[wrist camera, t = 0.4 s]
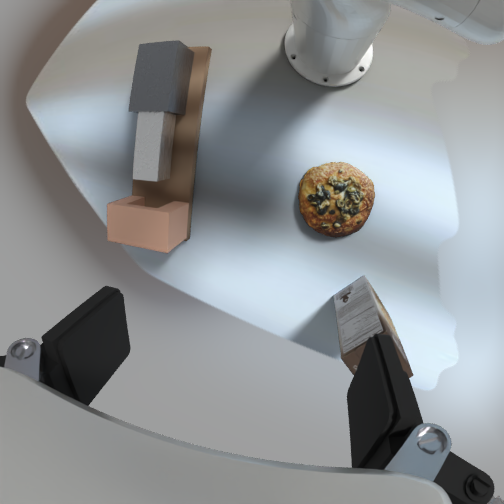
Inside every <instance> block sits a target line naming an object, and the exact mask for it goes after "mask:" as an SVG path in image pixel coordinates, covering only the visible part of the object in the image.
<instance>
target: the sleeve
mask: <svg viewBox="0 0 504 504" xmlns="http://www.w3.org/2000/svg"><path fill="white" fill-rule="evenodd" d="M194 54H195V52H193V51H192V50H191V49H189V48H188V47H187V46H186V45H184V44H183V43H182V42H180V41H166V42H155V43H146V44H140V45H139V49H138V55H137V60H136V65H135V71H134V77H133V83H132V90H131V97H130V104H129V112H136V113H138V112H143V111H165V112H170V113H175V114H176V115H185V113H186V105H187V98H188V91H189V84H190V78H191V72H192V65H193V60H194Z"/></svg>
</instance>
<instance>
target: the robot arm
mask: <svg viewBox="0 0 504 504" xmlns="http://www.w3.org/2000/svg"><path fill="white" fill-rule="evenodd" d="M290 2H291V10H292V18H293V23H292V24H291V25H290V27H289V29H288V31H287V32H286V36H285V52H286V55H287V58H288V60H289V62H290V64H291V65H292V67H293V68H294V69H295V70H296V71H297V72H298V73H299V74H300V75H301V76H303V77H304V78H306V79H307V80H309V81H311V82H314V83H316V84H319V85H323V86H330V87H338V86H345V85H348V84H352V83H354V82H355V81H357V80H359V79H360V78H361V77H362V76H364V75H365V73H366V72H367V71H368V69H369V68H370V66H371V63H372V60H373V45H372V42H373V41H374V39H375V38H376V36H377V35H378V33H379V31H380V30H381V28H382V27H383V25H384V23H385V22H386V20H387V19H388V16H389V14H390V11H391V4H394V5H397V6H399V7H402V8H404V9H406V10H409V11H411V12H413V13H416V14H418V15H420V16H422V17H424V18H426V19H428V20H431V21H433V22H435V23H437V24H439V25H440V26H442V27H444V28H447V29H449V30H450V31H452V32H454V33H456V34H458V35H460V36H462V37H464V38H466V39H468V40H470V41H473V42H476V43H479V44H484V45H492V44H495V43H499V42H501V41H502V40H504V0H290ZM293 57H295V59H292V58H293ZM359 69H361V70H362V72H361V71H359ZM324 79H326V80H327V82H324ZM42 341H43V343H42V344H41V345H40V344H39V343H38V341H37V340H35V339H32V338H23V339H19V340H17V341H15V342H13V343H12V344H11V345H10V346H9V348H8V350H7V355H5V356H0V504H504V501H503V500H502V499H501V498H500V496H497V497H496V498H495V497H494V496H493V494H494V484H493V481H492V479H491V478H490V476H489V475H487V474H486V473H485V472H483V471H481V470H480V469H478V468H476V467H475V466H473V465H471V464H470V463H468V462H467V461H465V460H463V459H462V458H460V457H458V456H457V455H455V454H454V453H452V452H451V451H450V449H451V445H452V443H451V438H450V436H449V434H448V433H447V431H446V430H445V429H444V428H442V427H441V426H439V425H436V424H431V423H423V420H422V417H421V414H420V410H419V407H418V404H417V401H416V398H415V394H414V392H413V388H412V386H411V383H410V380H409V377H408V374H407V372H405V371H403V368H402V365H401V362H400V359H399V357H398V354H397V351H396V348H395V346H394V343H393V340H392V338H391V336H390V335H386V334H374V336H373V337H369V338H368V340H367V343H366V346H365V348H364V351H363V354H362V356H361V359H360V362H359V364H358V367H357V370H356V372H355V375H354V377H353V380H352V382H351V384H350V387H349V389H348V393H347V403H348V415H349V427H350V441H351V457H352V468H342V467H326V466H314V465H304V464H295V463H286V462H279V461H271V460H265V459H258V458H253V457H247V456H242V455H237V454H232V453H228V452H223V451H218V450H214V449H210V448H206V447H202V446H198V445H194V444H190V443H187V442H184V441H180V440H176V439H173V438H170V437H167V436H164V435H161V434H158V433H155V432H152V431H149V430H146V429H143V428H140V427H138V426H135V425H132V424H130V423H127V422H124V421H122V420H119V419H117V418H115V417H112V416H110V415H107V414H105V413H103V412H100V411H98V410H96V409H94V408H91V407H89V404H90V403H91V402H92V400H93V399H94V398H95V397H96V395H97V394H98V393H99V391H100V390H101V389H102V387H103V386H104V385H105V384H106V383H107V381H108V380H109V379H110V378H111V376H112V375H113V374H114V372H115V371H116V370H117V369H118V367H119V366H120V365H121V364H122V362H123V361H124V360H125V359H126V357H127V356H128V355H129V353H130V342H129V335H128V329H127V322H126V314H125V306H124V297H123V294H122V293H120V290H119V289H117V288H113V287H109V286H105V287H103V288H102V289H101V290H99V291H98V292H96V293H95V294H94V295H93V296H92V297H90V298H89V299H87V300H86V301H85V302H84V303H82V304H81V305H80V306H79V307H77V308H76V309H75V310H74V311H72V312H71V313H70V314H69V315H67V316H66V317H65V318H64V319H62V320H61V321H60V322H59V323H58V324H56V325H55V326H54V327H53V328H52V329H50V330H49V331H48V332H47V333H45V334H44V335H43V336H42Z"/></svg>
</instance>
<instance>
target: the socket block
mask: <svg viewBox="0 0 504 504" xmlns="http://www.w3.org/2000/svg"><path fill="white" fill-rule="evenodd" d="M188 209H189V203H185V202H178V201H173V202H171V203H169V204H166V205H164V206H162V207H160V208H152V207H145V197H141V196H133V195H132V196H129V197H126V198H123V199H120V200H117V201H114V202H111V203H108V204H107V233H108V241H111V242H116V243H121V244H126V245H130V246H135V247H140V248H145V249H150V250H155V251H160V252H165V253H168V252H170V251H171V250H172V249H173V248H175V247H176V246H177V245H178V244H180V243H181V242H182V241H183V240H185V239H186V238H187V223H188Z"/></svg>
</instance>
